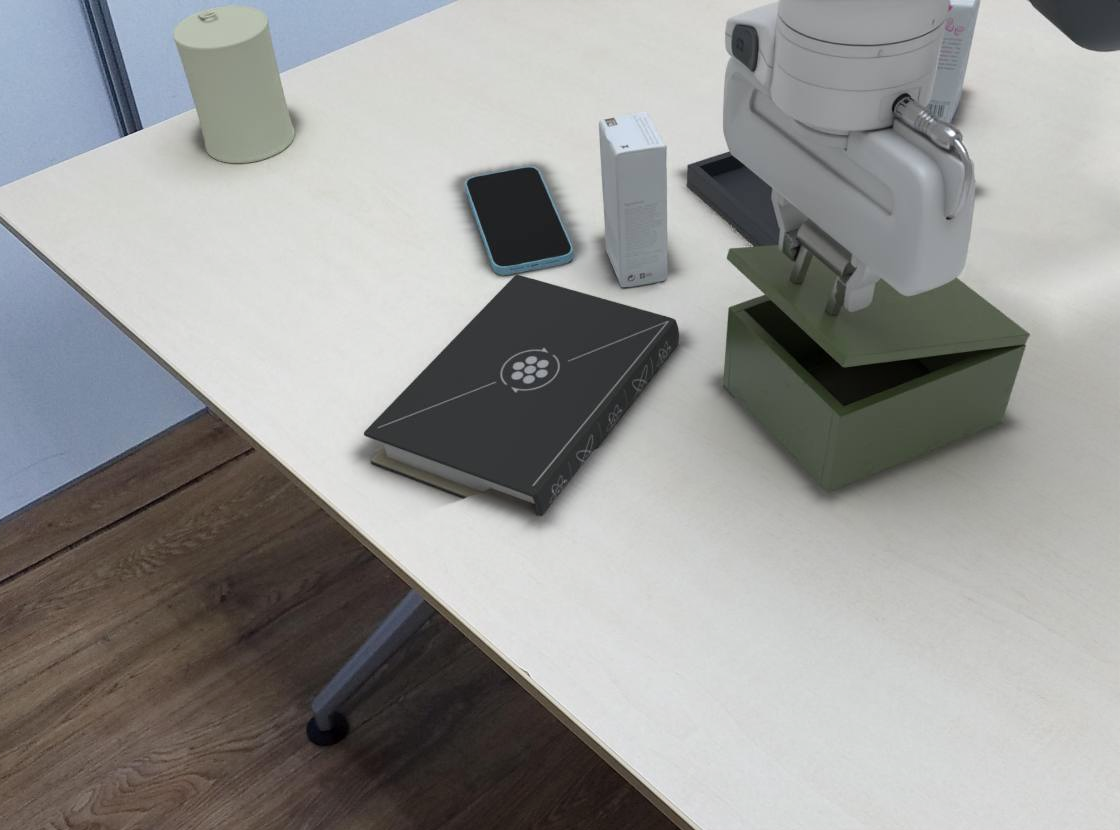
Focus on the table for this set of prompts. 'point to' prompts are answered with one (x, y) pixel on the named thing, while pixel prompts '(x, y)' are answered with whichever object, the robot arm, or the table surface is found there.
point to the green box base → (871, 423)
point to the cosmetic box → (634, 198)
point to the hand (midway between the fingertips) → (822, 278)
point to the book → (523, 393)
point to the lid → (871, 306)
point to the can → (235, 83)
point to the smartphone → (518, 220)
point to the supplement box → (953, 58)
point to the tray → (736, 197)
